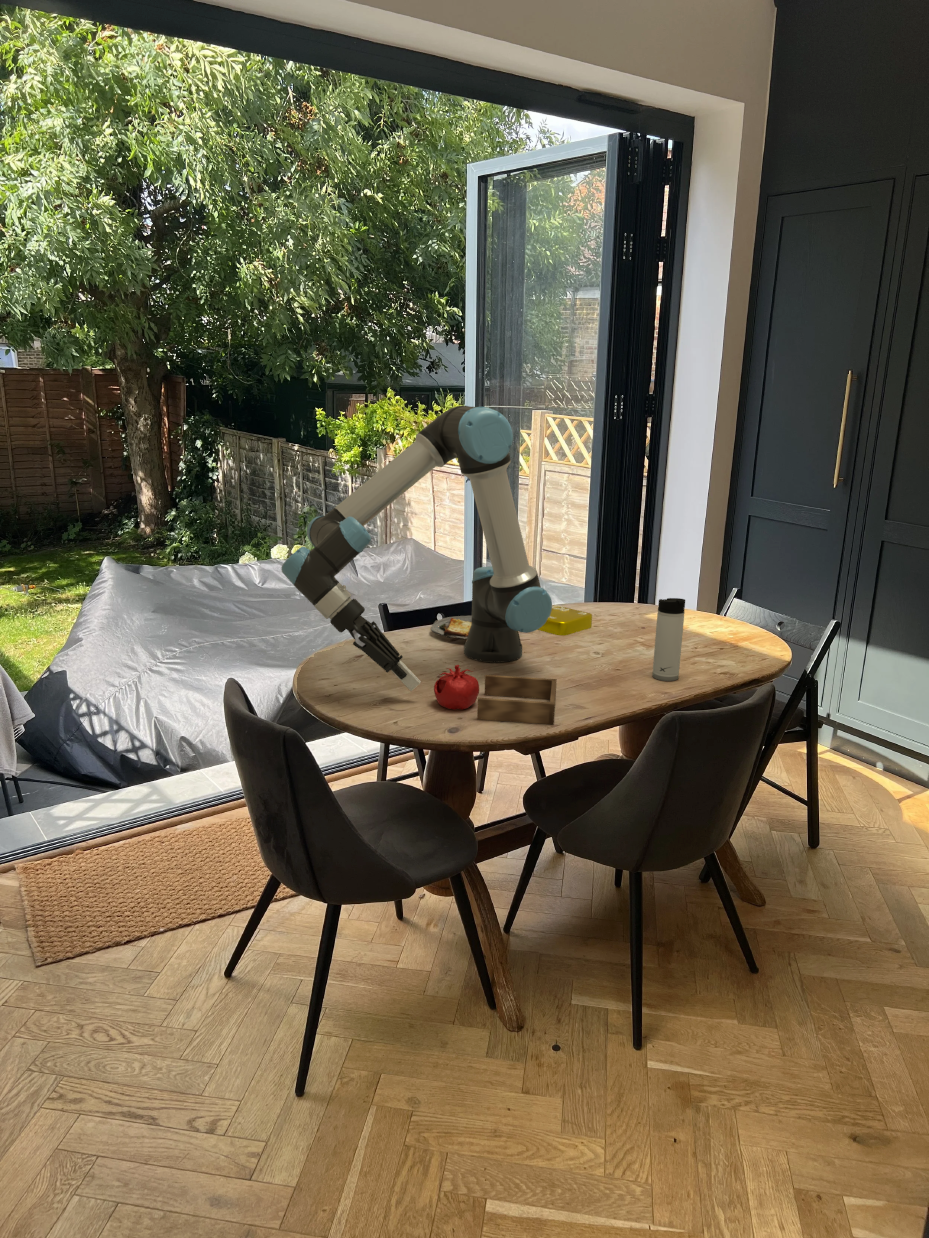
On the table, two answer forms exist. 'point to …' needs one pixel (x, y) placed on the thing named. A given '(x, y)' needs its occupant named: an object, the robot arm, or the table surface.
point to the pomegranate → (456, 689)
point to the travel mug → (668, 639)
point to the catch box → (518, 708)
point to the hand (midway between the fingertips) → (416, 686)
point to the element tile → (566, 621)
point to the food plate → (453, 627)
